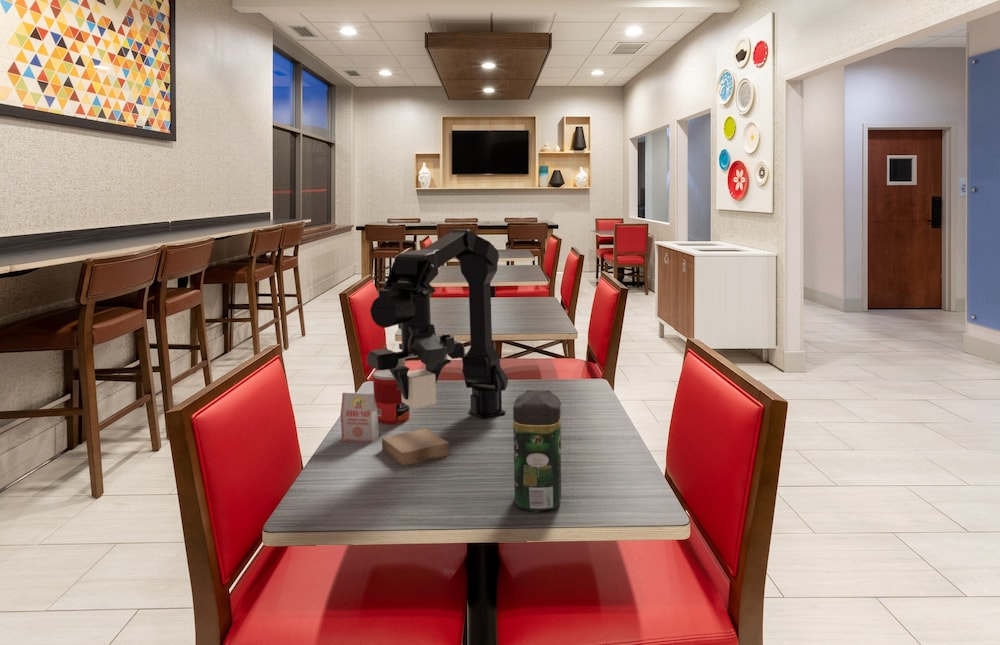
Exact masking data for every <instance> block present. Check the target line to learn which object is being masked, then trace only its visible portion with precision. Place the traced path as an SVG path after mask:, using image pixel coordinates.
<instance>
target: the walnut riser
mask: <svg viewBox="0 0 1000 645" xmlns="http://www.w3.org/2000/svg"><path fill="white" fill-rule="evenodd" d="M381 446H382V447H381V449H382V451H383V452H384V453H385V454H387V455H388V456H390V458H392V459H393V460H395V461H396V462H397V463H399V465H401V466H402V467H403V466H407V465H412V464H416V463H420V462H425V461H430V460H434V459H439V458H441V457H446V456H449V455H450V442H449V441H447V440H445V439H444V438H442V437H441V436H439V435H437V434H436V433H434V432H433V431H431V430H430V429H428V428H424V429H418V430H412V431H409V432H403V433H399V434H394V435H389V436H385V437H381Z"/></svg>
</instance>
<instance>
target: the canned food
mask: <svg viewBox="0 0 1000 645" xmlns="http://www.w3.org/2000/svg"><path fill="white" fill-rule="evenodd" d="M372 374H373V376H372V380H373V381H372V382H373V384H372V385H373V394H374V398H375V403H376V406H377V412H378V423H380V424H385V425H398V424H402V423H405V422H407V421H408V420H409V418H410V415H411V414H410V406H408V405H406V404H404V403H402V393H401V391H400V388H399V386H398V384H397V382H396V380H395V378H394V376H393V375H392V373H391V372H390V370H389V369H387V370H376V371H374V372H373V373H372Z"/></svg>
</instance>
